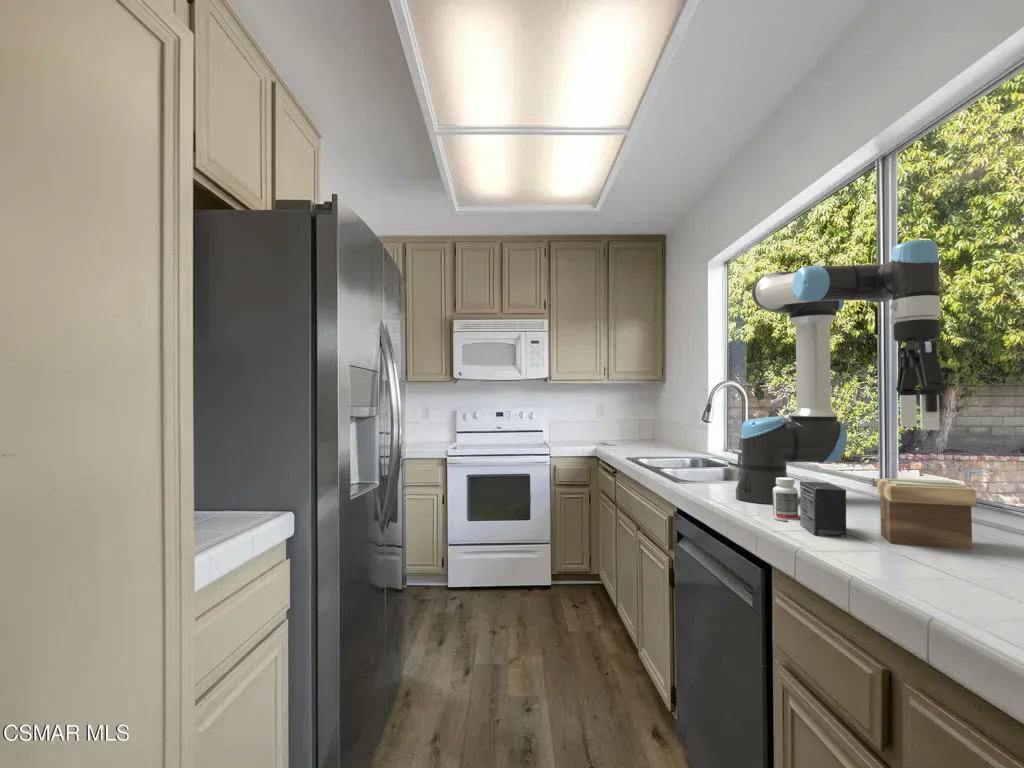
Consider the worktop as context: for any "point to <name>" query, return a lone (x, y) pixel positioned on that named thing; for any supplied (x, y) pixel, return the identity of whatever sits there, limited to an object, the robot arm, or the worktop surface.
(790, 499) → the pill bottle
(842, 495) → the small box
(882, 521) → the tea box
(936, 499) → the lid
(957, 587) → the worktop surface
